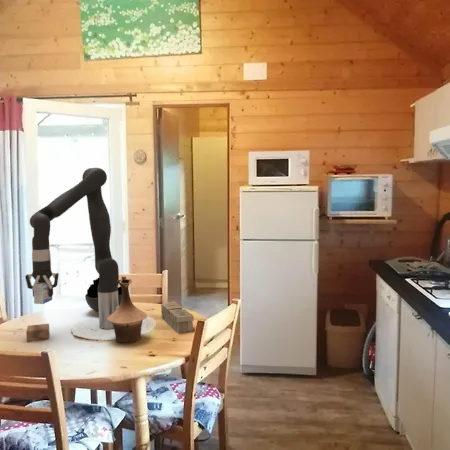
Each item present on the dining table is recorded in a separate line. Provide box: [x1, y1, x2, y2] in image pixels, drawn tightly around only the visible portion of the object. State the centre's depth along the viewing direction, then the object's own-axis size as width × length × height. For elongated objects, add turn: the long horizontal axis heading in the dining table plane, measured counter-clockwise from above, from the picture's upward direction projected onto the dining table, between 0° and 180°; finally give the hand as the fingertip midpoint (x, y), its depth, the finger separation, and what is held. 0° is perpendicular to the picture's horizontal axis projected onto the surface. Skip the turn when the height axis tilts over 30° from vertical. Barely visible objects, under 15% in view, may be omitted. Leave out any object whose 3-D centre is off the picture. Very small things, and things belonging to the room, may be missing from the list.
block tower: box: [160, 301, 194, 334], centre depth 234 cm, size 8×8×29 cm
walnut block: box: [25, 323, 50, 343], centre depth 218 cm, size 9×9×5 cm
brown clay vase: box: [107, 275, 148, 345], centre depth 212 cm, size 18×17×28 cm
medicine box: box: [32, 280, 53, 305], centre depth 214 cm, size 8×4×9 cm, turn 171°
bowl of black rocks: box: [84, 277, 122, 314], centre depth 256 cm, size 20×20×19 cm
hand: (43, 297), depth 215 cm, fingers closed on medicine box, 5 cm apart
